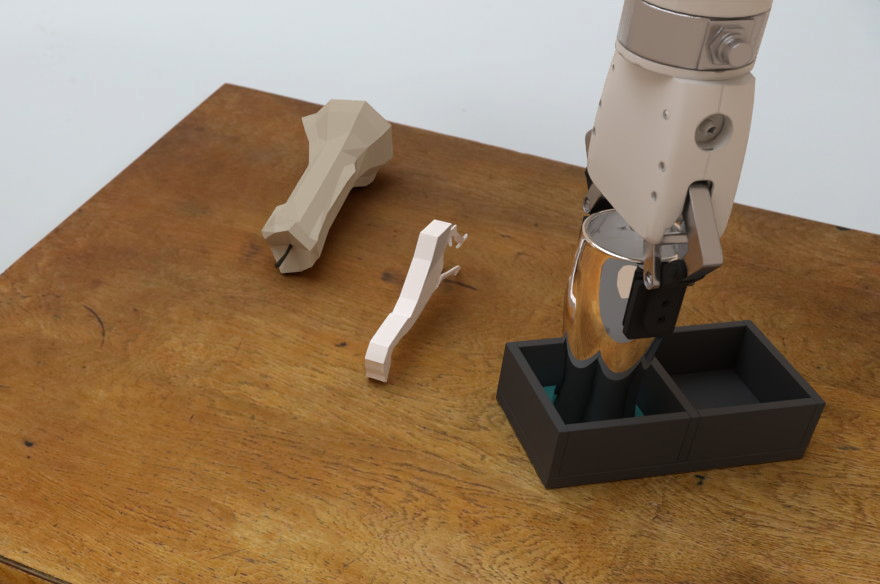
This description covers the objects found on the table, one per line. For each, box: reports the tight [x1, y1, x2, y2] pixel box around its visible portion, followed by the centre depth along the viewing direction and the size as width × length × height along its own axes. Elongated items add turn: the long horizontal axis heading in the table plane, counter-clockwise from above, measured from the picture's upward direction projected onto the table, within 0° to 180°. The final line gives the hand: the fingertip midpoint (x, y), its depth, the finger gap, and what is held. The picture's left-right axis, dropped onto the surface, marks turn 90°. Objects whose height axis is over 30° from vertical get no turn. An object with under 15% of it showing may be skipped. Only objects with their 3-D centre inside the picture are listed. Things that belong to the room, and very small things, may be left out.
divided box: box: [495, 319, 827, 490], centre depth 78 cm, size 19×10×5 cm, turn 102°
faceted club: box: [261, 98, 394, 274], centre depth 98 cm, size 9×8×25 cm
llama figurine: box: [364, 218, 469, 383], centre depth 87 cm, size 2×11×18 cm
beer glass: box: [550, 208, 680, 425], centre depth 73 cm, size 7×7×15 cm
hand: (620, 298), depth 71 cm, fingers closed on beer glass, 7 cm apart
